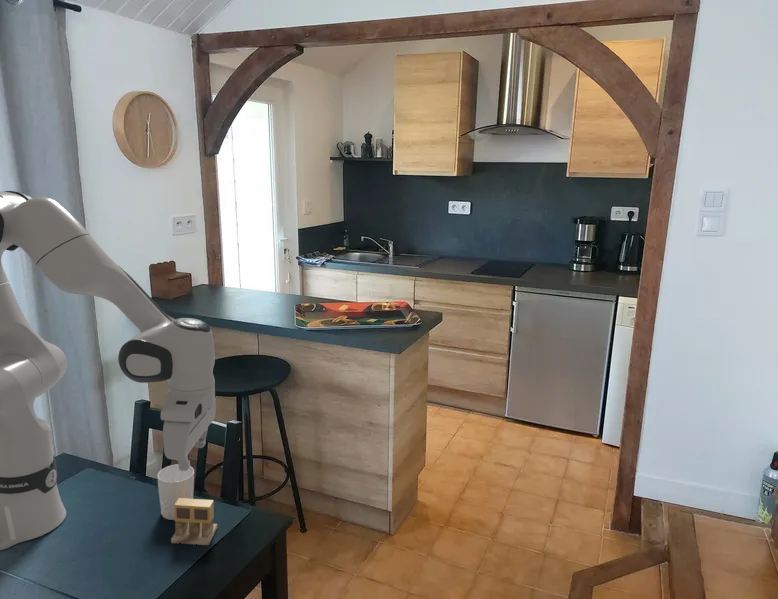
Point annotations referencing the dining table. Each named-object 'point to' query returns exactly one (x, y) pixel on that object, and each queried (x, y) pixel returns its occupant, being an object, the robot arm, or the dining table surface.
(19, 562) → the dining table surface
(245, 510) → the dining table surface
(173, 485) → the white cup
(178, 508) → the tan rectangular block
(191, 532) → the display stand
